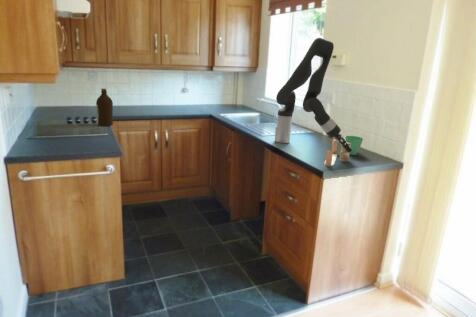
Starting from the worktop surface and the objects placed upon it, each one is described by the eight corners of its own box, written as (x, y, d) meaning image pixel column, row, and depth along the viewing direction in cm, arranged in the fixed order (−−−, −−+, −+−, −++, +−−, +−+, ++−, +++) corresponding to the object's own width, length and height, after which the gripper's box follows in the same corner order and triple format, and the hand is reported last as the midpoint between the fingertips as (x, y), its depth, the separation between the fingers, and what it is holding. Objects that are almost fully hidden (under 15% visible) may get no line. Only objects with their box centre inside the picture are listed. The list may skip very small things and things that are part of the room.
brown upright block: (338, 161, 200) (341, 143, 197) (339, 158, 204) (342, 141, 201) (348, 162, 198) (350, 144, 195) (348, 160, 203) (351, 142, 200)
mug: (360, 157, 210) (363, 140, 207) (343, 154, 213) (345, 138, 210) (360, 151, 224) (362, 135, 221) (343, 149, 226) (346, 133, 224)
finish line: (322, 165, 189) (324, 151, 187) (329, 152, 217) (331, 139, 215) (332, 167, 188) (334, 152, 185) (338, 153, 216) (340, 140, 213)
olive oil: (114, 123, 258) (113, 88, 251) (112, 126, 248) (111, 89, 241) (98, 123, 256) (96, 87, 249) (96, 126, 246) (94, 89, 239)
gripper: (339, 125, 188) (358, 149, 192) (332, 120, 202) (350, 142, 206) (327, 135, 190) (347, 158, 193) (321, 129, 204) (339, 150, 207)
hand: (348, 149), depth 199 cm, fingers open, 6 cm apart
